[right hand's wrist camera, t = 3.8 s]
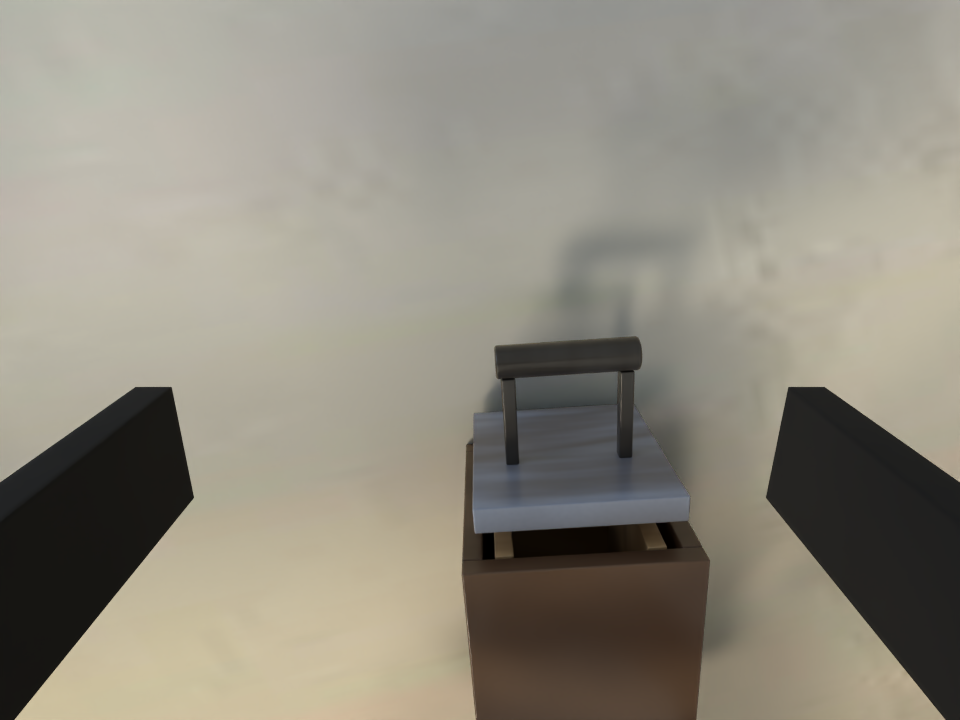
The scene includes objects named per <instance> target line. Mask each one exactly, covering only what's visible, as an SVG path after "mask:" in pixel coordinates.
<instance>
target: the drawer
mask: <svg viewBox="0 0 960 720" xmlns="http://www.w3.org/2000/svg"><path fill="white" fill-rule="evenodd" d="M494 352H495V367H496V378H497V379H501V390H502V406H503V411H500V412H484V413H474V434H473V521H474V532H475V533H476V534H477V533H494V546H495V559H508V558H525V557H542V556H559V555H576V554H593V553H610V552H627V551H644V550H661V549H667V546H666V544H665V542H664V540H663V538H662V536H661V534H660V532H659V530H658V527H657V525H656V523H662V522H679V521H688V520H689V509H690V495H689V494H688V492H687V490H686V489H685V487H684V485H683V484H682V482H681V480H680V479H679V477H678V475H677V474H676V472H675V470H674V469H673V467H672V466H671V464H670V462H669V461H668V459H667V457H666V456H665V454H664V452H663V451H662V449H661V447H660V446H659V444H658V442H657V441H656V439H655V438H654V436H653V434H652V433H651V431H650V429H649V428H648V426H647V424H646V423H645V421H644V419H643V418H642V416H641V415H640V413H639V411H638V410H637V408H636V406H635V405H634V371H633V370H639V369H640V368H641V364H642V348H641V343H640V340H639V338H638V337H636V336H634V337H618V338H603V339H588V340H573V341H558V342H542V343H527V344H512V345H497V346H495V347H494ZM616 371H618V397H617V404H610V405H594V406H579V407H563V408H547V409H531V410H517V407H516V387H515V378H523V377H539V376H554V375H570V374H585V373H601V372H616Z"/></svg>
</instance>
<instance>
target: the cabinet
mask: <svg viewBox="0 0 960 720" xmlns="http://www.w3.org/2000/svg"><path fill="white" fill-rule="evenodd" d="M656 525H657V527H658V530H659V532H660V534H661V536H662V538H663V540H664V542H665V544H666V546H667V549H661V550H644V551H627V552H610V553H593V554H576V555H559V556H542V557H525V558H508V559H495V546H494V533H477V534H476V533H475V532H474V521H473V444H467V445H466V471H465V499H464V527H463V555H462V582H463V592H464V603H465V613H466V623H467V633H468V644H469V654H470V664H471V674H472V684H473V695H474V705H475V715H476V720H696V716H697V705H698V693H699V682H700V670H701V658H702V647H703V635H704V624H705V612H706V600H707V589H708V577H709V565H710V560H709V558H708V556H707V554H706V553H705V551H704V549H703V548H702V545H701V544H700V542H699V540H698V538H697V536H696V535H695V533H694V531H693V529H692V528H691V526H690V524H689V522H688V521H679V522H662V523H656Z"/></svg>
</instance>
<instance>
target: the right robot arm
mask: <svg viewBox="0 0 960 720" xmlns="http://www.w3.org/2000/svg"><path fill="white" fill-rule="evenodd" d="M193 498H194V495H193V491H192V486H191V481H190V476H189V471H188V466H187V461H186V456H185V451H184V446H183V441H182V436H181V431H180V426H179V421H178V417H177V412H176V407H175V402H174V397H173V392H172V387H135V388H134V389H132V390H131V391H129V392H128V393H126V394H125V395H124V396H122V397H121V398H119V399H118V400H117V401H115V402H114V403H112V404H111V405H109V406H108V407H107V408H105V409H104V410H102V411H101V412H100V413H98V414H97V415H95V416H94V417H92V418H91V419H90V420H88V421H87V422H85V423H84V424H83V425H81V426H80V427H78V428H77V429H75V430H74V431H73V432H71V433H70V434H68V435H67V436H65V437H64V438H63V439H61V440H60V441H58V442H57V443H56V444H54V445H53V446H51V447H50V448H48V449H47V450H46V451H44V452H43V453H41V454H40V455H39V456H37V457H36V458H34V459H33V460H31V461H30V462H29V463H27V464H26V465H24V466H23V467H22V468H20V469H19V470H17V471H16V472H14V473H13V474H12V475H10V476H9V477H7V478H6V479H4V480H3V481H2V482H0V720H14V719H15V718H16V717H17V716H18V715H19V713H20V712H21V711H22V710H23V708H24V707H25V706H26V705H27V703H28V702H29V701H30V700H31V698H32V697H33V696H34V695H35V694H36V692H37V691H38V690H39V689H40V687H41V686H42V685H43V684H44V682H45V681H46V680H47V679H48V677H49V676H50V675H51V674H52V673H53V671H54V670H55V669H56V668H57V666H58V665H59V664H60V663H61V661H62V660H63V659H64V658H65V656H66V655H67V654H68V653H69V652H70V650H71V649H72V648H73V647H74V645H75V644H76V643H77V642H78V640H79V639H80V638H81V637H82V635H83V634H84V633H85V632H86V631H87V629H88V628H89V627H90V626H91V624H92V623H93V622H94V621H95V619H96V618H97V617H98V616H99V614H100V613H101V612H102V611H103V610H104V608H105V607H106V606H107V605H108V603H109V602H110V601H111V600H112V598H113V597H114V596H115V595H116V593H117V592H118V591H119V590H120V589H121V587H122V586H123V585H124V584H125V582H126V581H127V580H128V579H129V577H130V576H131V575H132V574H133V572H134V571H135V570H136V569H137V567H138V566H139V565H140V564H141V563H142V561H143V560H144V559H145V558H146V556H147V555H148V554H149V553H150V551H151V550H152V549H153V548H154V546H155V545H156V544H157V543H158V542H159V540H160V539H161V538H162V537H163V535H164V534H165V533H166V532H167V530H168V529H169V528H170V527H171V525H172V524H173V523H174V522H175V521H176V519H177V518H178V517H179V516H180V514H181V513H182V512H183V511H184V509H185V508H186V507H187V506H188V504H189V503H190V502H191V501H192V500H193ZM766 498H767V500H768V501H769V502H770V503H771V504H772V506H773V507H774V508H775V509H776V511H777V512H778V513H779V514H780V516H781V517H782V518H783V519H784V521H785V522H786V523H787V524H788V525H789V527H790V528H791V529H792V530H793V532H794V533H795V534H796V535H797V537H798V538H799V539H800V540H801V542H802V543H803V544H804V545H805V546H806V548H807V549H808V550H809V551H810V553H811V554H812V555H813V556H814V558H815V559H816V560H817V561H818V563H819V564H820V565H821V566H822V567H823V569H824V570H825V571H826V572H827V574H828V575H829V576H830V577H831V579H832V580H833V581H834V582H835V584H836V585H837V586H838V587H839V589H840V590H841V591H842V592H843V593H844V595H845V596H846V597H847V598H848V600H849V601H850V602H851V603H852V605H853V606H854V607H855V608H856V610H857V611H858V612H859V613H860V614H861V616H862V617H863V618H864V619H865V621H866V622H867V623H868V624H869V626H870V627H871V628H872V629H873V631H874V632H875V633H876V634H877V635H878V637H879V638H880V639H881V640H882V642H883V643H884V644H885V645H886V647H887V648H888V649H889V650H890V652H891V653H892V654H893V655H894V656H895V658H896V659H897V660H898V661H899V663H900V664H901V665H902V666H903V668H904V669H905V670H906V671H907V673H908V674H909V675H910V676H911V677H912V679H913V680H914V681H915V682H916V684H917V685H918V686H919V687H920V689H921V690H922V691H923V692H924V694H925V695H926V696H927V697H928V698H929V700H930V701H931V702H932V703H933V705H934V706H935V707H936V708H937V710H938V711H939V712H940V713H941V715H942V716H943V717H944V718H945V719H946V720H960V482H958V481H957V480H956V479H954V478H953V477H951V476H950V475H948V474H947V473H946V472H944V471H943V470H941V469H940V468H938V467H937V466H936V465H934V464H933V463H931V462H930V461H929V460H927V459H926V458H924V457H923V456H921V455H920V454H919V453H917V452H916V451H914V450H913V449H912V448H910V447H909V446H907V445H906V444H904V443H903V442H902V441H900V440H899V439H897V438H896V437H895V436H893V435H892V434H890V433H889V432H887V431H886V430H885V429H883V428H882V427H880V426H879V425H877V424H876V423H875V422H873V421H872V420H870V419H869V418H868V417H866V416H865V415H863V414H862V413H860V412H859V411H858V410H856V409H855V408H853V407H852V406H851V405H849V404H848V403H846V402H845V401H843V400H842V399H841V398H839V397H838V396H836V395H835V394H834V393H832V392H831V391H829V390H828V389H826V388H825V387H788V392H787V397H786V402H785V407H784V412H783V417H782V421H781V426H780V431H779V436H778V441H777V446H776V451H775V456H774V461H773V466H772V471H771V476H770V481H769V486H768V491H767V495H766Z"/></svg>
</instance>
